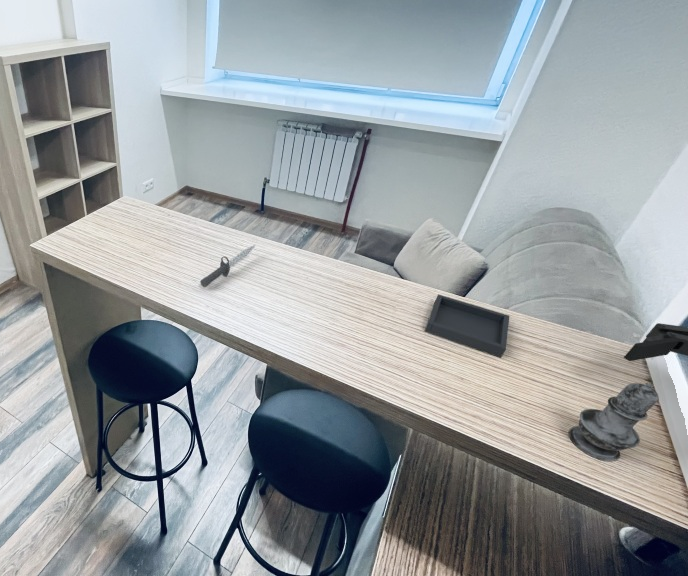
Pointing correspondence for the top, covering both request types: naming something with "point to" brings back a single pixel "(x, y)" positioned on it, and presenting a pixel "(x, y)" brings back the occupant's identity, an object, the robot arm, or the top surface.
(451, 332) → the serving tray
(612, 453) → the salt shaker
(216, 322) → the top surface
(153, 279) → the top surface
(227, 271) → the knife
